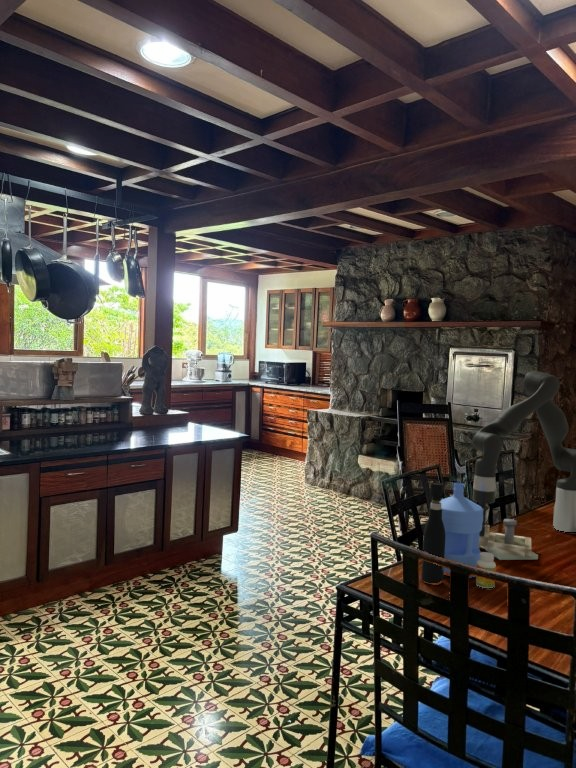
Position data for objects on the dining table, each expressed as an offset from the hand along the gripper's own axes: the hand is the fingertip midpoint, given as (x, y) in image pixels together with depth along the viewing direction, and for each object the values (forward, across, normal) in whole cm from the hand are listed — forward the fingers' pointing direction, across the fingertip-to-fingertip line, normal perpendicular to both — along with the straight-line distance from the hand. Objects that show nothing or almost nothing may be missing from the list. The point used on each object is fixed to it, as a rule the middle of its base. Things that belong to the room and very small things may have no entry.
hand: (481, 532), depth 210 cm
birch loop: (+4, 0, -7) cm, 8 cm away
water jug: (+6, -27, +6) cm, 29 cm away
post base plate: (+6, 0, -9) cm, 11 cm away
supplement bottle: (+6, -37, -4) cm, 37 cm away
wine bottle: (+6, -41, +11) cm, 43 cm away
